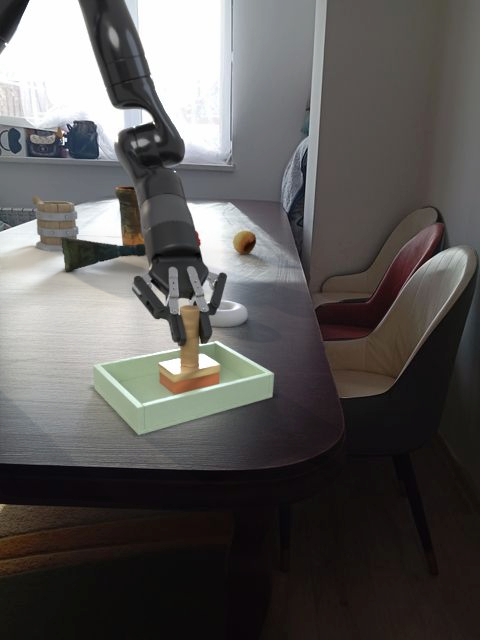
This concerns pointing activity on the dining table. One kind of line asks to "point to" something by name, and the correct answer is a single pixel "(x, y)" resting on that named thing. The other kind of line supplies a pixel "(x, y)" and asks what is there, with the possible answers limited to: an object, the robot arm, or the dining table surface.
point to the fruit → (244, 241)
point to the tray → (168, 409)
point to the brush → (189, 360)
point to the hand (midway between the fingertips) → (194, 342)
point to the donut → (229, 315)
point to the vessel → (129, 216)
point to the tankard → (54, 223)
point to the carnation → (96, 252)
